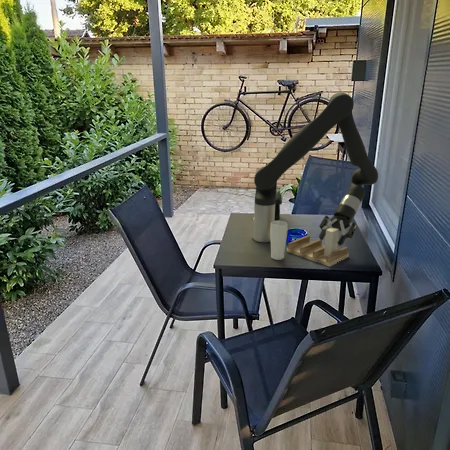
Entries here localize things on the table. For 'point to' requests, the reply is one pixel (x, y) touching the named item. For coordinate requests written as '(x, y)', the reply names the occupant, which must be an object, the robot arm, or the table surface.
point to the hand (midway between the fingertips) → (329, 241)
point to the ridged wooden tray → (315, 251)
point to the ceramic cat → (278, 205)
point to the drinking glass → (278, 239)
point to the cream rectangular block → (331, 241)
